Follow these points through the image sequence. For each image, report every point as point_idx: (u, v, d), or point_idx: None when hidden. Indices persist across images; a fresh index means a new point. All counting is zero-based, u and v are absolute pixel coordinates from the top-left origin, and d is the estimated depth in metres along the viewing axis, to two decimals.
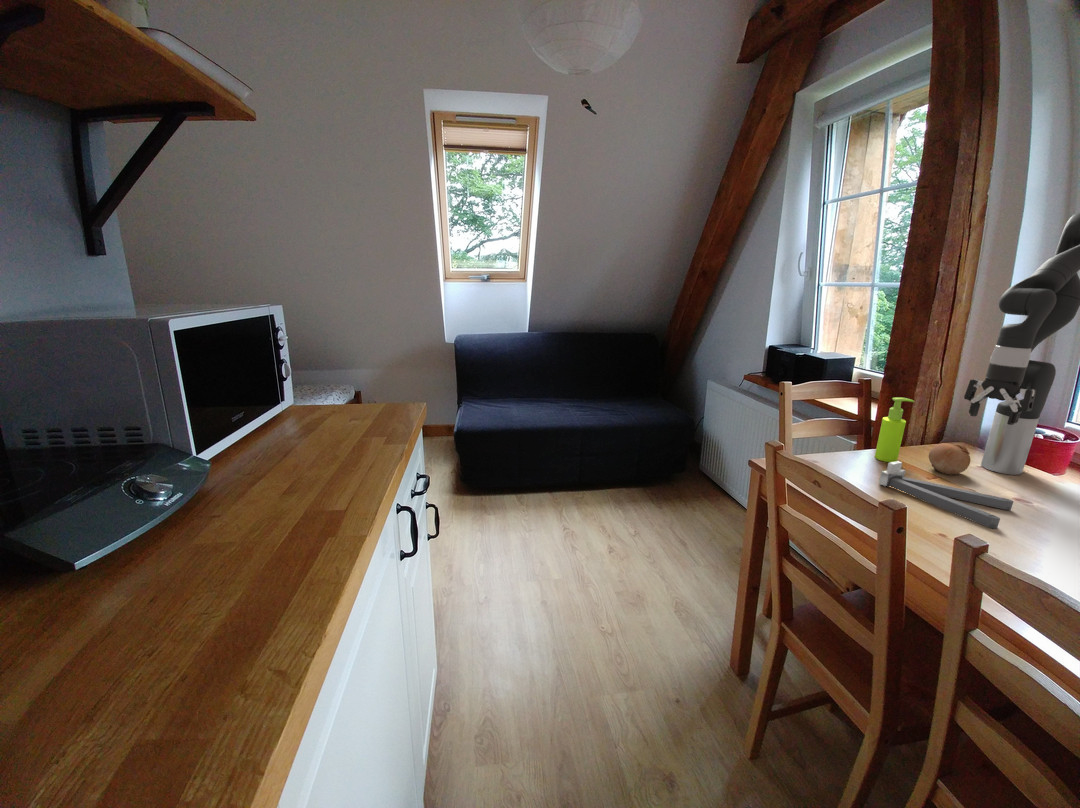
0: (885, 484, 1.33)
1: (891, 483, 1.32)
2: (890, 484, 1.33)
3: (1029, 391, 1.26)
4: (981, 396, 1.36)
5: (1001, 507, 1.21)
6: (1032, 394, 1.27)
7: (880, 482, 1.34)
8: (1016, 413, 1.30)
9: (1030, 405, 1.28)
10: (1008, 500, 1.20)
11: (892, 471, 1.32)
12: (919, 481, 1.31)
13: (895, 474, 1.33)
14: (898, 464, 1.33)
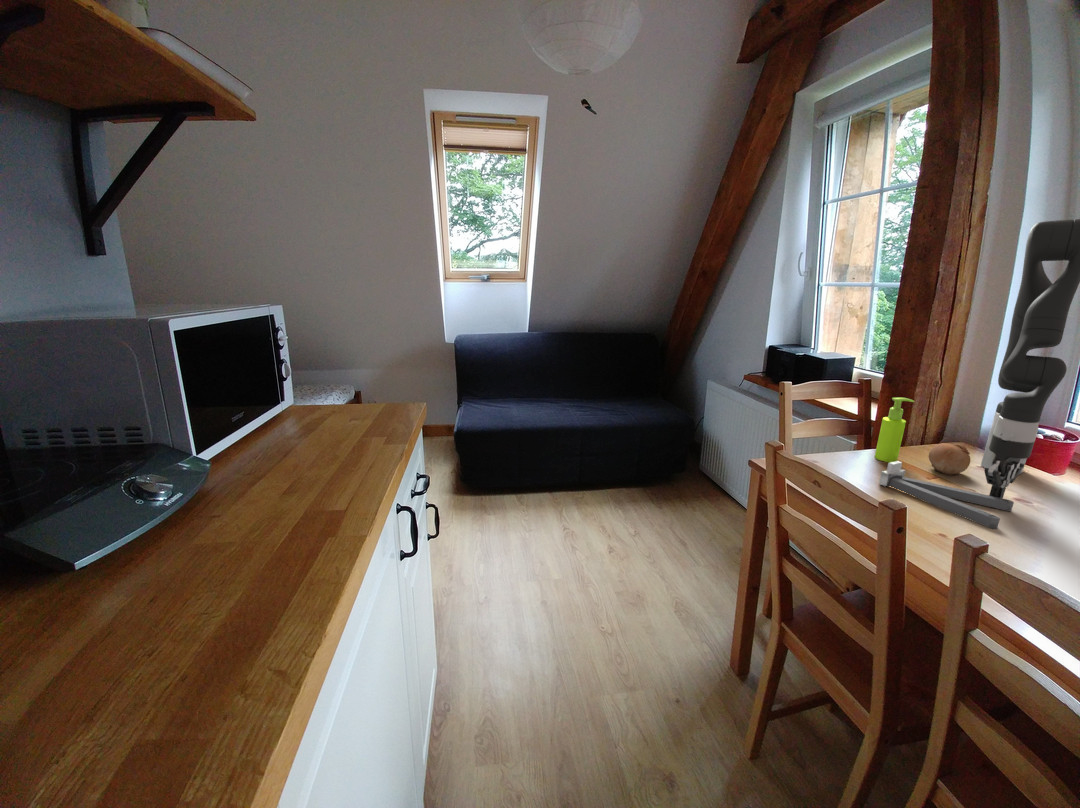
0: (885, 484, 1.33)
1: (891, 483, 1.32)
2: (890, 484, 1.33)
3: None
4: (1009, 477, 1.20)
5: (1001, 508, 1.20)
6: None
7: (880, 482, 1.34)
8: None
9: None
10: (1008, 501, 1.20)
11: (892, 471, 1.32)
12: (919, 481, 1.31)
13: (895, 474, 1.33)
14: (898, 464, 1.33)
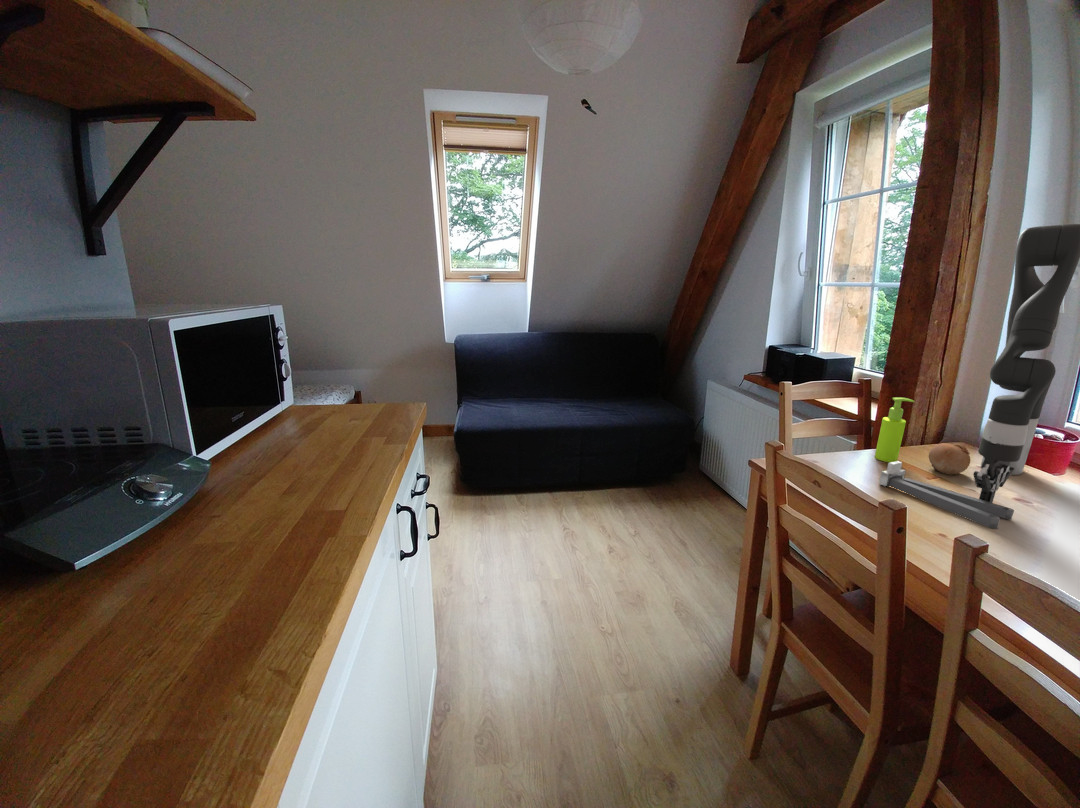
0: (885, 484, 1.33)
1: (891, 483, 1.32)
2: (890, 484, 1.33)
3: None
4: (998, 481, 1.18)
5: (1000, 515, 1.17)
6: None
7: (880, 482, 1.34)
8: (994, 491, 1.20)
9: None
10: (1008, 509, 1.16)
11: (892, 471, 1.32)
12: (920, 483, 1.30)
13: (895, 474, 1.33)
14: (898, 464, 1.33)
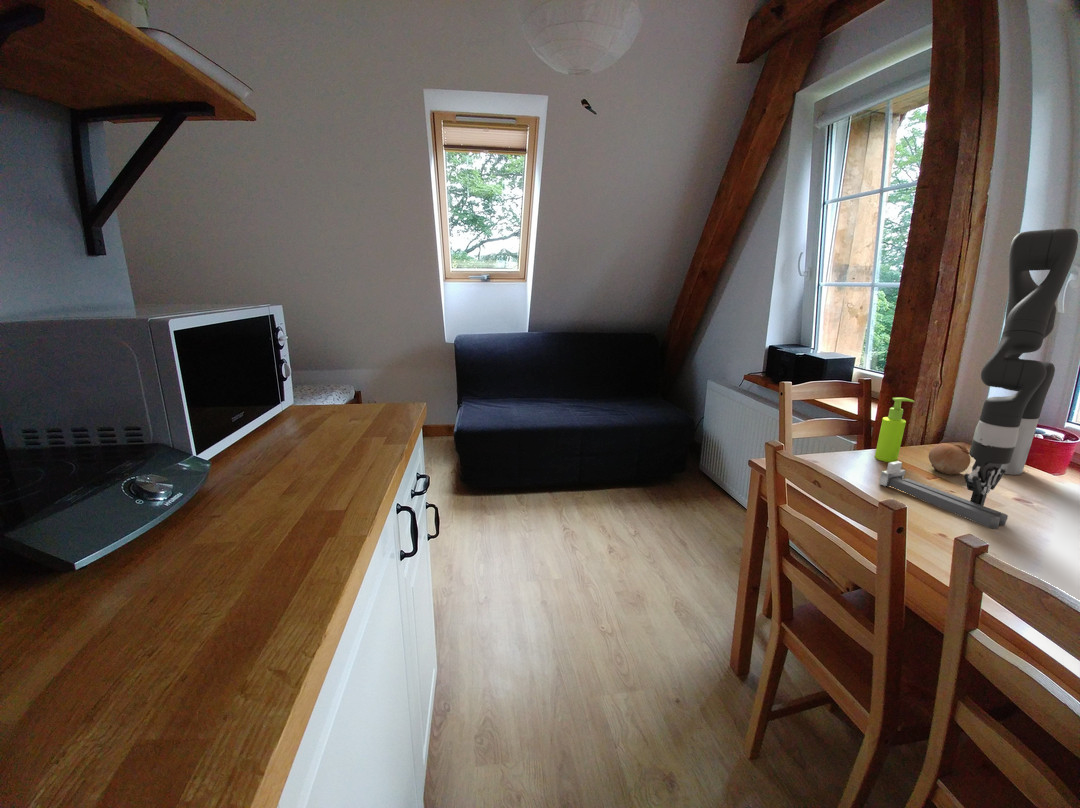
0: (885, 484, 1.33)
1: (891, 483, 1.32)
2: (890, 484, 1.33)
3: (1004, 471, 1.19)
4: (989, 483, 1.16)
5: None
6: None
7: (880, 482, 1.34)
8: (985, 493, 1.19)
9: None
10: (1002, 514, 1.13)
11: (892, 471, 1.32)
12: (919, 484, 1.29)
13: (895, 474, 1.33)
14: (898, 464, 1.33)
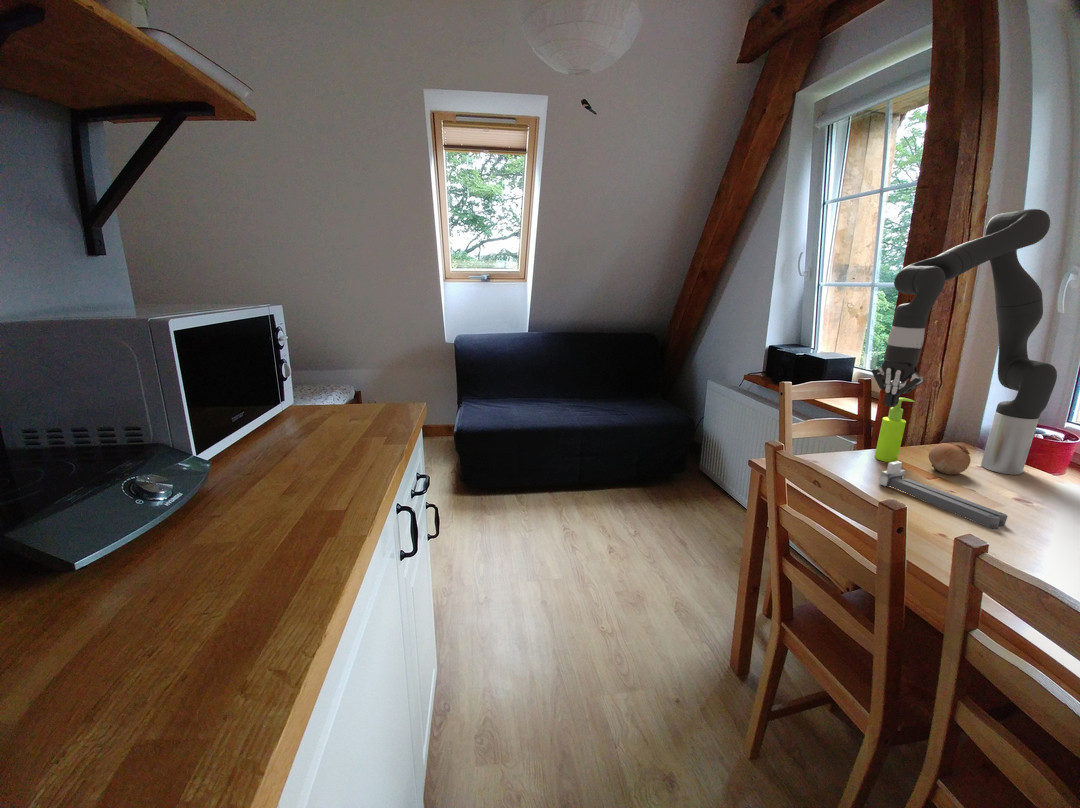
0: (885, 484, 1.33)
1: (891, 483, 1.32)
2: (890, 484, 1.33)
3: None
4: None
5: None
6: None
7: (880, 482, 1.34)
8: None
9: None
10: (1002, 514, 1.13)
11: (892, 471, 1.32)
12: (919, 484, 1.29)
13: (895, 474, 1.33)
14: (898, 464, 1.33)
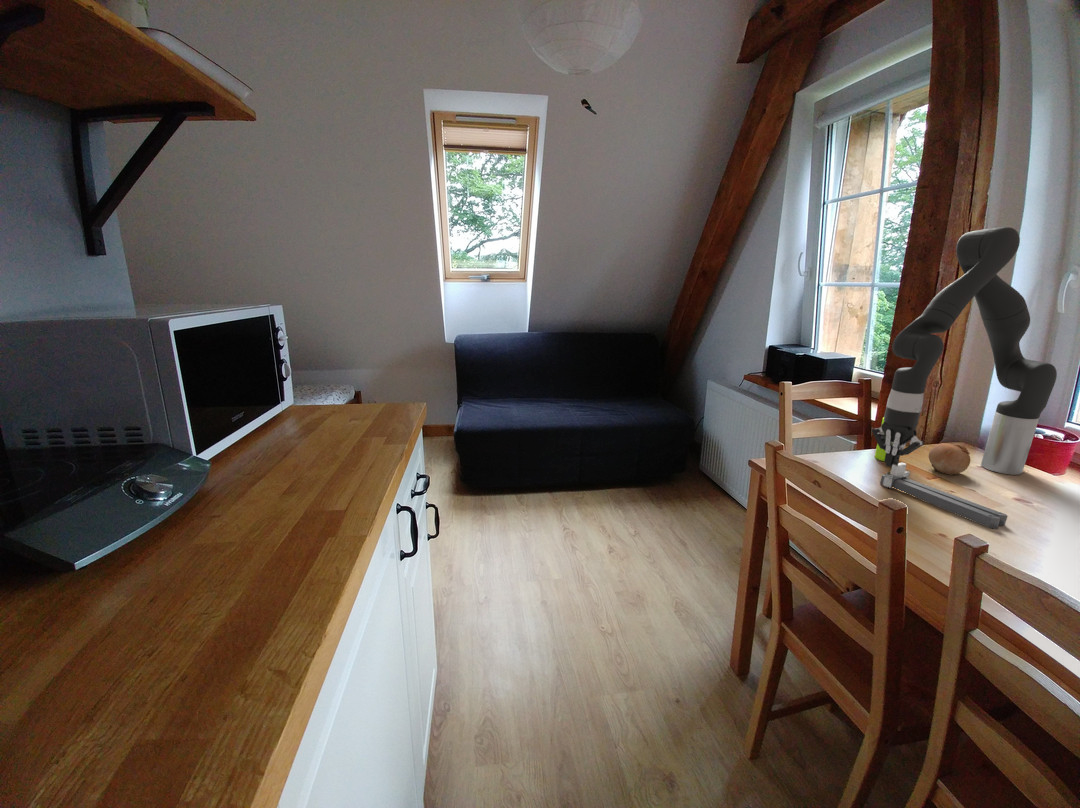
0: (889, 486, 1.32)
1: None
2: None
3: None
4: None
5: None
6: None
7: (884, 484, 1.33)
8: None
9: None
10: (1002, 514, 1.13)
11: (896, 473, 1.32)
12: (919, 484, 1.29)
13: (899, 476, 1.32)
14: (902, 466, 1.32)
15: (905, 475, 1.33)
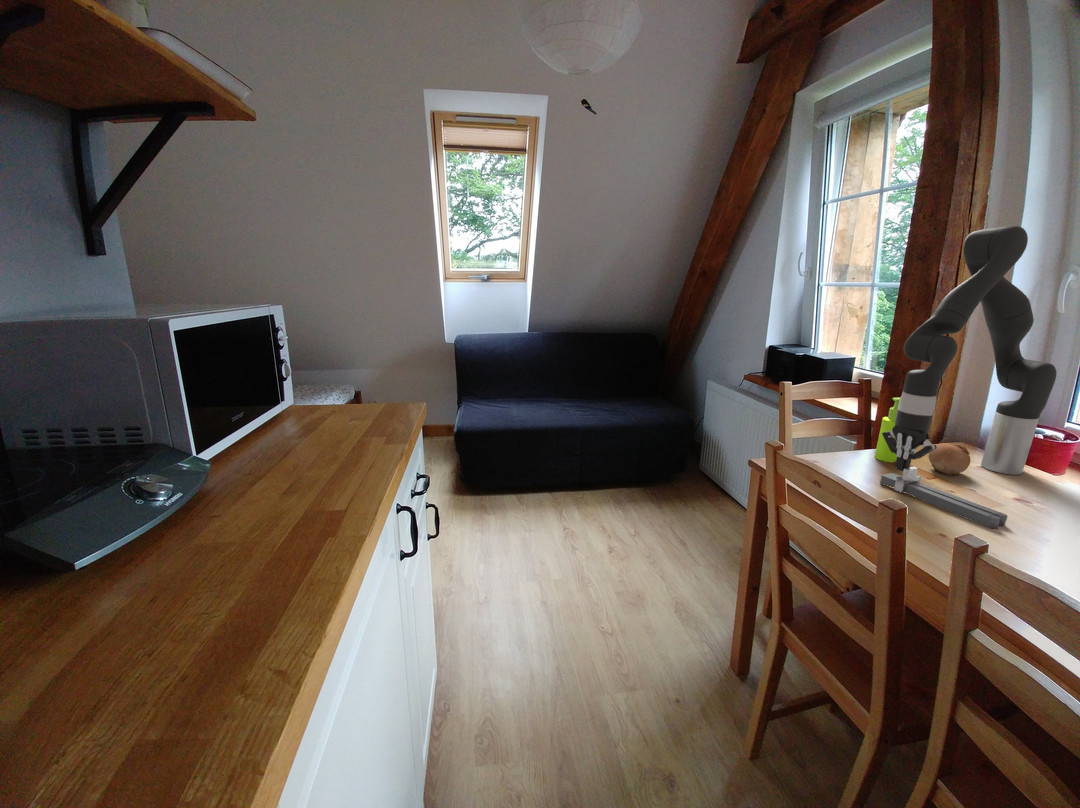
0: (900, 490, 1.29)
1: (891, 483, 1.32)
2: (890, 484, 1.33)
3: None
4: None
5: None
6: None
7: (895, 488, 1.30)
8: None
9: None
10: (1002, 514, 1.13)
11: (908, 477, 1.29)
12: (919, 484, 1.29)
13: (911, 480, 1.29)
14: (914, 470, 1.29)
15: (917, 479, 1.30)
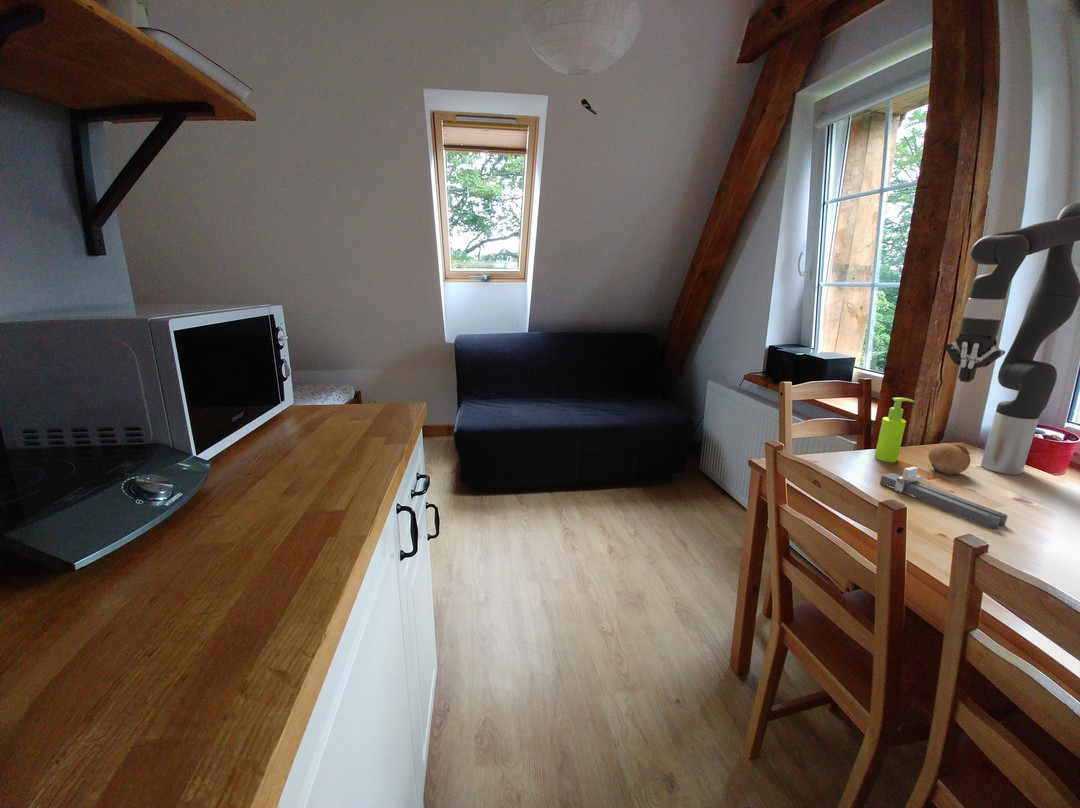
0: (901, 490, 1.29)
1: (891, 483, 1.32)
2: (890, 484, 1.33)
3: None
4: None
5: None
6: None
7: (895, 488, 1.30)
8: None
9: None
10: (1002, 514, 1.13)
11: (908, 477, 1.29)
12: (919, 484, 1.29)
13: (911, 480, 1.29)
14: (914, 470, 1.29)
15: (917, 479, 1.30)
